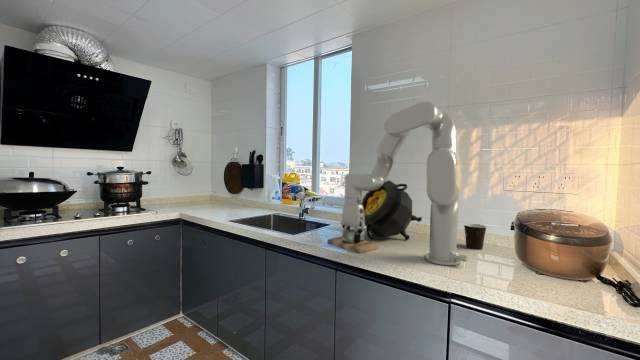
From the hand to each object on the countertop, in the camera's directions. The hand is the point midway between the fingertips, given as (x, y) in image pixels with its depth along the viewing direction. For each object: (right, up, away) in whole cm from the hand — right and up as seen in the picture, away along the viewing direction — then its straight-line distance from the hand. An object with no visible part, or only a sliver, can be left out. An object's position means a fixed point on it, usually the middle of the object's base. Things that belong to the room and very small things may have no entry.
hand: (352, 241), depth 127 cm
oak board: (0, -2, 0) cm, 2 cm away
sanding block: (0, 0, 0) cm, 0 cm away
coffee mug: (+53, -3, -2) cm, 53 cm away
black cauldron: (+19, -2, +16) cm, 25 cm away
